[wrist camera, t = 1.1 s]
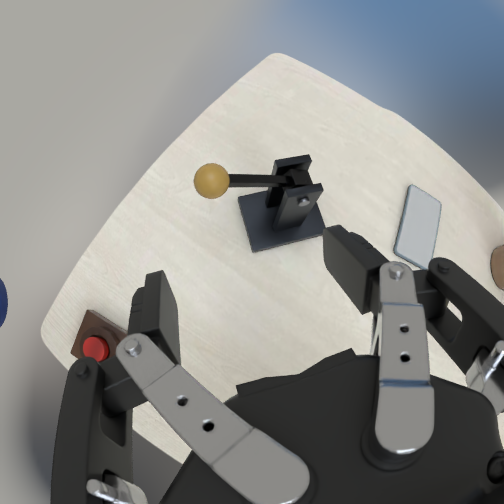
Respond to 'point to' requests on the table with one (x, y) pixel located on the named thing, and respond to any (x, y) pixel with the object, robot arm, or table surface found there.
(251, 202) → the latch bracket
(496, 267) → the vase
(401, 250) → the smartphone
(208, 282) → the table surface
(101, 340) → the release button
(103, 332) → the block
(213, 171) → the latch lever
